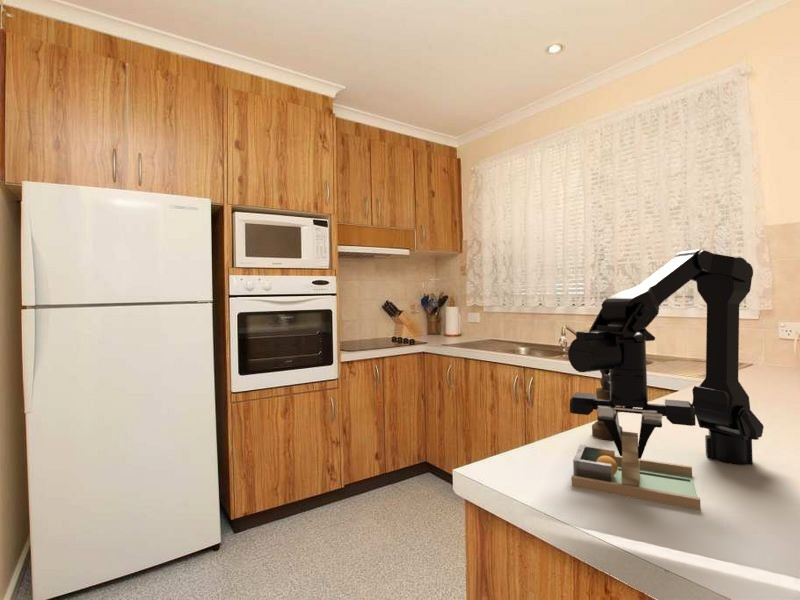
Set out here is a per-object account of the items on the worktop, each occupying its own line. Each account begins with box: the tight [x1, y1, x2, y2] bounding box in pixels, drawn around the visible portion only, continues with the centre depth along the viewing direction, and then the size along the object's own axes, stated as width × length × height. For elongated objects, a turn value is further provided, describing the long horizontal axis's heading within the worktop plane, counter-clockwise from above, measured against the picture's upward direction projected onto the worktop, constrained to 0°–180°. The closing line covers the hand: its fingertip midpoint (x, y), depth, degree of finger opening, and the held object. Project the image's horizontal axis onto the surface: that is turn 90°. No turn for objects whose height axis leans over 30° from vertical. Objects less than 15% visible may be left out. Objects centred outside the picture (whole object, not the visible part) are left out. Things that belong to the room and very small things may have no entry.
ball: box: [596, 456, 617, 476], centre depth 75 cm, size 4×4×4 cm
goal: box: [572, 443, 616, 482], centre depth 76 cm, size 6×9×4 cm, turn 149°
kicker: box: [621, 430, 640, 486], centre depth 73 cm, size 3×6×8 cm, turn 149°
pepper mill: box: [591, 370, 623, 441], centre depth 99 cm, size 7×6×18 cm
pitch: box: [571, 454, 702, 511], centre depth 73 cm, size 18×14×2 cm
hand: (630, 456), depth 73 cm, fingers closed on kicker, 2 cm apart
